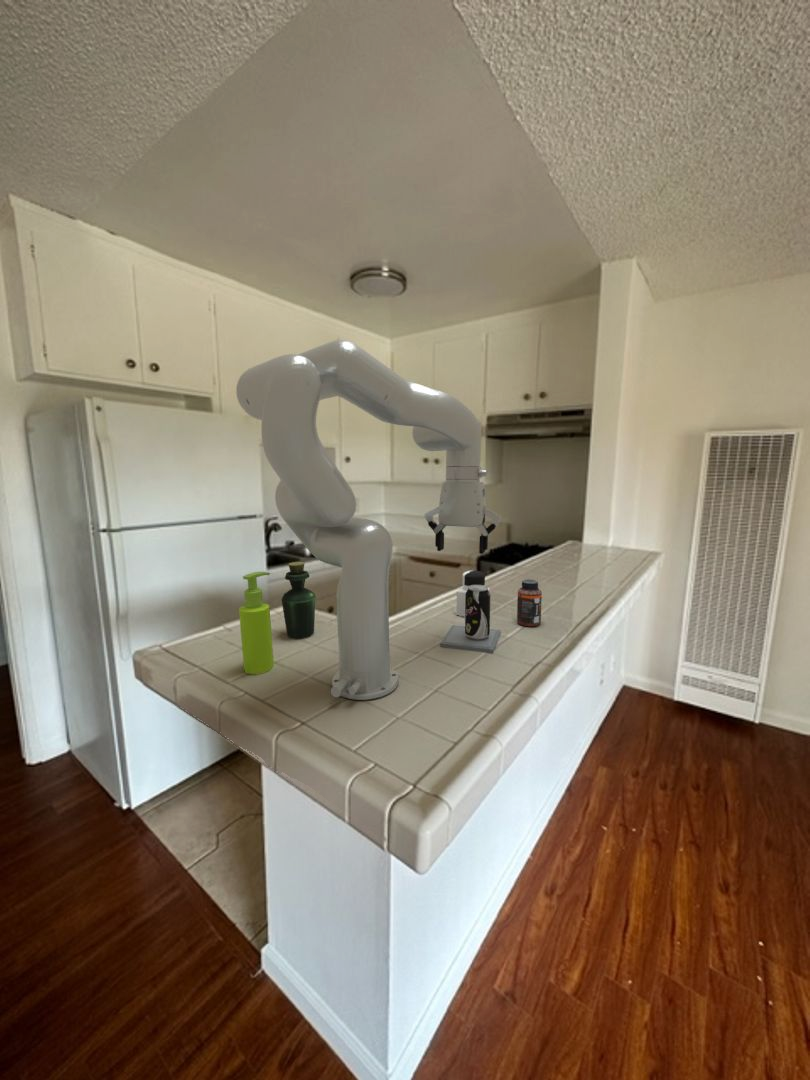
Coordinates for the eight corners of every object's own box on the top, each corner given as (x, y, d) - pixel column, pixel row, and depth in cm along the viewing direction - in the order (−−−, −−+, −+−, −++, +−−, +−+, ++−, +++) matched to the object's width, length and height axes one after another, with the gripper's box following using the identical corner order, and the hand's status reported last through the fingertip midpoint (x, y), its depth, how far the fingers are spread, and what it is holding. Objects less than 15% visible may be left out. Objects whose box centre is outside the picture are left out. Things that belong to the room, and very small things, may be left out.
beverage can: (459, 635, 103) (460, 586, 101) (476, 630, 107) (476, 582, 105) (478, 643, 99) (479, 592, 97) (494, 636, 103) (495, 587, 101)
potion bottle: (278, 634, 109) (273, 563, 106) (307, 625, 115) (303, 558, 112) (293, 643, 103) (288, 569, 100) (323, 634, 109) (319, 563, 106)
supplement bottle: (543, 627, 110) (545, 584, 108) (519, 627, 111) (521, 584, 109) (537, 619, 116) (538, 577, 114) (514, 619, 116) (515, 578, 114)
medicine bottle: (490, 612, 122) (491, 570, 120) (480, 620, 116) (481, 576, 114) (466, 608, 126) (467, 567, 124) (456, 615, 120) (456, 573, 118)
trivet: (493, 653, 96) (493, 649, 96) (440, 646, 100) (440, 642, 100) (500, 633, 107) (500, 629, 107) (452, 628, 111) (452, 624, 111)
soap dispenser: (283, 663, 93) (277, 571, 90) (257, 676, 87) (249, 579, 84) (264, 657, 96) (257, 568, 93) (237, 670, 90) (229, 575, 87)
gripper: (504, 475, 97) (502, 551, 100) (430, 475, 103) (429, 546, 106) (499, 475, 90) (496, 557, 93) (420, 475, 96) (419, 551, 99)
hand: (461, 551), depth 99 cm, fingers open, 9 cm apart
